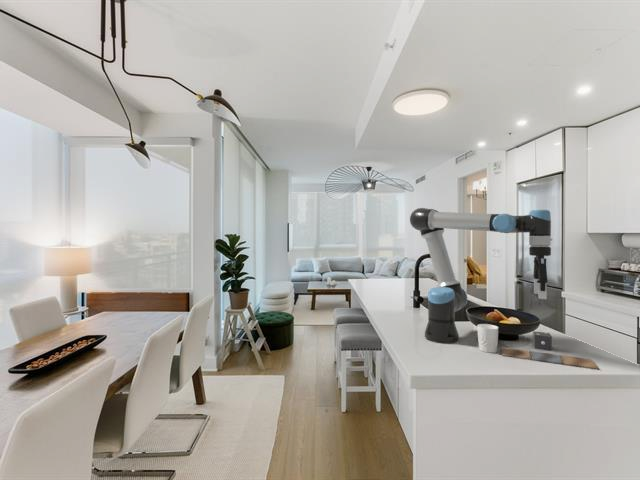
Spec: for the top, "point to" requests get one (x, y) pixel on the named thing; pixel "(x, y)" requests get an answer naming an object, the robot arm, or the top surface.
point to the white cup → (487, 337)
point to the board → (549, 358)
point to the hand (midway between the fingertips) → (540, 296)
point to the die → (542, 341)
